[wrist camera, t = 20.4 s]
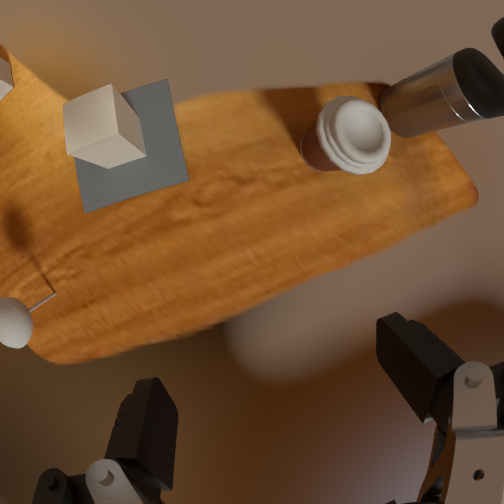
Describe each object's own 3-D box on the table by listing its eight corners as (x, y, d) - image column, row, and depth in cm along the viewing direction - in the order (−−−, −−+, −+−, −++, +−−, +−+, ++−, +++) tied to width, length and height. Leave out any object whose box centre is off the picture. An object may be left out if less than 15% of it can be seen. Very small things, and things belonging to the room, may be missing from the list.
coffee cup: (306, 191, 37) (348, 185, 25) (279, 130, 35) (309, 100, 23) (358, 168, 38) (409, 158, 26) (333, 112, 36) (377, 83, 24)
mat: (168, 80, 32) (167, 79, 31) (189, 180, 34) (188, 180, 34) (71, 115, 30) (70, 114, 29) (86, 213, 33) (84, 213, 32)
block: (139, 118, 31) (112, 83, 20) (146, 156, 32) (118, 133, 21) (102, 131, 31) (62, 104, 19) (108, 168, 32) (67, 154, 20)
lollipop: (36, 277, 33) (-24, 308, 18) (63, 269, 33) (3, 301, 19) (48, 314, 34) (-4, 358, 19) (76, 309, 34) (25, 356, 20)
